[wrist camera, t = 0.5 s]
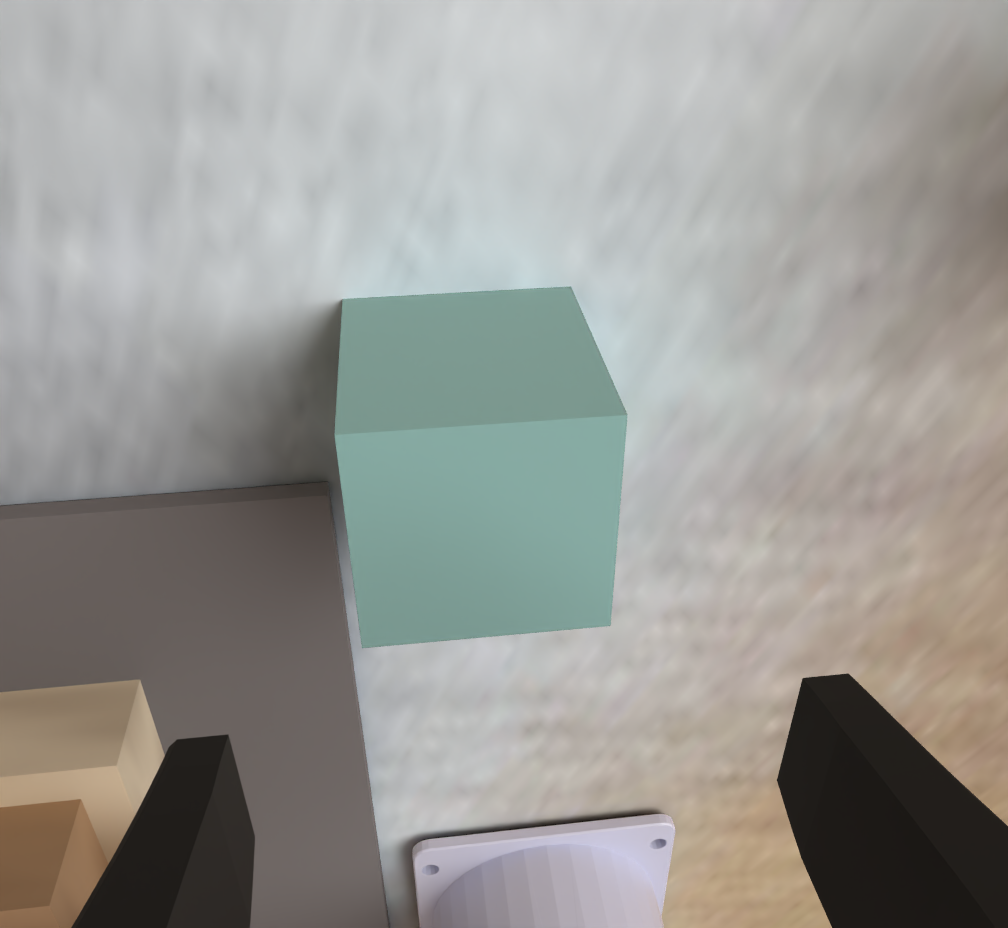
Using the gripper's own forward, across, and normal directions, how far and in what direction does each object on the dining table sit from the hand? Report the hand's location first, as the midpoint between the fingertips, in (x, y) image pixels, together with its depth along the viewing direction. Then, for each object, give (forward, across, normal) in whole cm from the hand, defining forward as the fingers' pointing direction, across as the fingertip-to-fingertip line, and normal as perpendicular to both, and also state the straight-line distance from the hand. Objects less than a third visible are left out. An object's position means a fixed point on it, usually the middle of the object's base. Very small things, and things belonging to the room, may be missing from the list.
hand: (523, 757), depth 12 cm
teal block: (+10, 0, 0) cm, 10 cm away
